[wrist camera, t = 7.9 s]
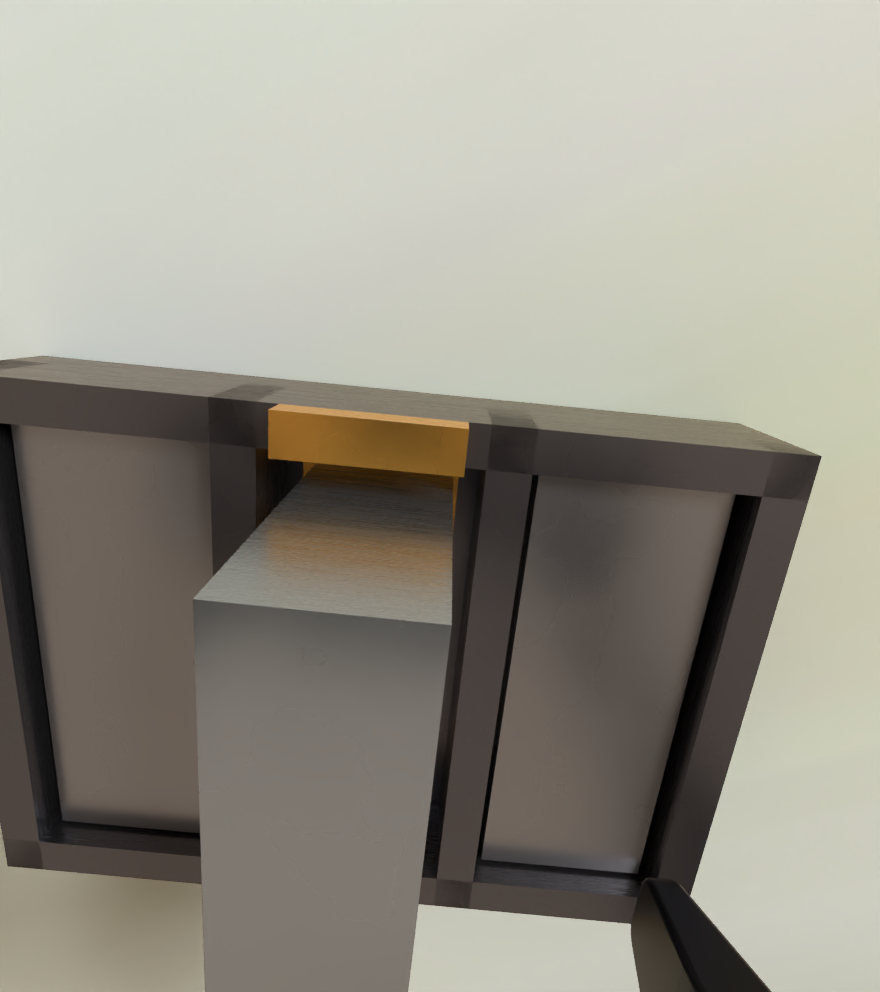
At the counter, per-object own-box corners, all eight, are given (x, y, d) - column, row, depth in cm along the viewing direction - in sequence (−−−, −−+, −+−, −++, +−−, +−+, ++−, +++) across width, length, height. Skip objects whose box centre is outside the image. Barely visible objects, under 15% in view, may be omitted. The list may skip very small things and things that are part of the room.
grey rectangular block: (418, 786, 14) (395, 1097, 9) (305, 775, 14) (207, 1079, 9) (453, 475, 12) (452, 624, 6) (317, 461, 12) (192, 598, 6)
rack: (640, 818, 16) (690, 955, 13) (87, 766, 16) (-13, 891, 13) (739, 423, 13) (844, 465, 9) (42, 356, 13) (-110, 373, 9)
